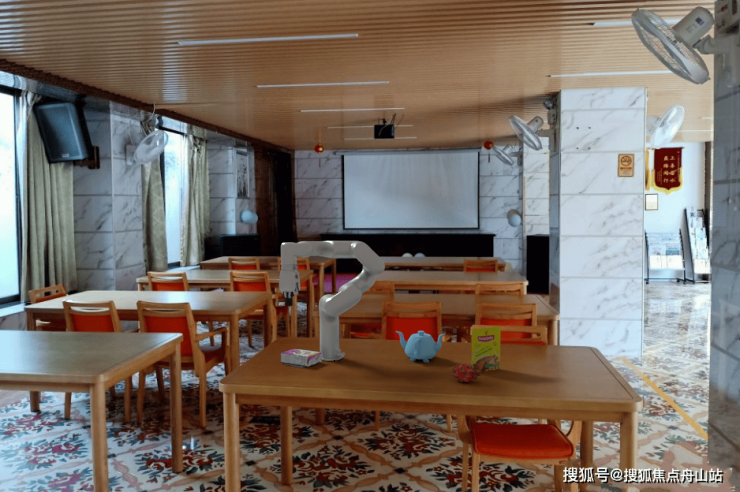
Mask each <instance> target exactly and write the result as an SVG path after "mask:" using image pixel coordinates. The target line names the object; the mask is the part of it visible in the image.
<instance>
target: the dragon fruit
mask: <svg viewBox="0 0 740 492" xmlns="http://www.w3.org/2000/svg"><path fill="white" fill-rule="evenodd" d="M451 373H452V378H454V379H458V381H459V382H460V383H463V382H465V383H468V384H473V383H474V381H476V380H478V379H477V378H478V376H479V377H480V376H481V374H480V372H478V371H477V370H474V369H473V367H472V366H471V365H470V364H467V363H458V364H455V366H454V367H453V368H452V370H451Z"/></svg>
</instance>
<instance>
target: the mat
mask: <svg viewBox="0 0 740 492" xmlns="http://www.w3.org/2000/svg"><path fill="white" fill-rule="evenodd" d="M282 364H283V365H285V366H286V365H287V366H292V367H297V368H301V369H303V368H306V367H307V366H301V365H295V364H289V363H283V362H282Z"/></svg>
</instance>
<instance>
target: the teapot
mask: <svg viewBox="0 0 740 492" xmlns="http://www.w3.org/2000/svg"><path fill="white" fill-rule="evenodd" d="M395 333H397V334H398V335H399V341H400V345H401V347H402V349H404V353H405V355H407V357H408V358H410V359H409V361H410V362H416V360H422V361H423V363H429V362H430V360H432V359H433V358H435V357H436V355H437V353H438V352H439V351H440V350H441V348H442V345H443V344H442V342H443V341H442V339H443V337H444V336H445V335H446V333H441V334H439V336H438V338H437V343H436V342H435V340H434V338H433V337H432V335H431V334H429V333H426V332H425V331H424V330H418V331H417V333H412V334H411V335H410V337H409V338H408V340H407V341H405V338H404V333H403V332H402V331H398V330H395Z"/></svg>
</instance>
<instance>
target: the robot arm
mask: <svg viewBox="0 0 740 492" xmlns="http://www.w3.org/2000/svg"><path fill="white" fill-rule="evenodd" d="M309 257H324V258H329V259H357V261H358V262H360V264H361V265H362V271H361V272H360V273H359V274H358V275H357V276H355V277H354V278H353V279H351V280H349V281H348V282H346V283H344V284H342V285H341V286H340V287H339V289H338V291H337V292H338V293H336V294H335V295H334V294H330V293H329V294H325V295H323V296H322V297H320V299H319V300H318V302H319V303H318V312H319V313H318V315H319V352H321V361H324V362H325V361H326V362H328V361H329V362H331V361H333V362H334V360H335V361H338V360H339V361H340V360H341V359H343V358H344V356H345V355H346V353H345V352H342V348H340V316H341V315H342V314H344V313H345V312H347V311H349V310H350V309H351V308H353V307H355V306H356V305H357V304H358V303H360V301H361V299H362V295H363V293H365V292H367V291H369V289H370V288H372V286H374V284H375V282H376V280H377V278H378V275H380V274H383V272H384V271H385V267H386V264H385V262H384V260H383V259H382V258H381V257H380V256H379V255H378V254H377V253H376V252H375V251H374V250H372V248H371V247H370V246H369V245H368V244H366V243H365V242H363V241H359V240H322V241H321V240H320V241H319V240H318V241H317V240H316V241H314V240H312V241H309V240H308V241H306V240H303V241H299V242H292V241H291V242H282V243H281V245H280V266H281V267H280V269H281V270H280V271H279V272H280V273H279V277H278V278H279V279H278V289H279V293H281V294H283V296H284V298H285V306H286V307H293V306H294V305H293V304H294V303H293V302H294V301H293V300H294V299H293V298H294V297H295V296H296V295H299V291H301V279H300V273H299V270H298V269H299V266H298V259H297V258H303V259H305V258H306V259H307V258H309Z"/></svg>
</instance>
